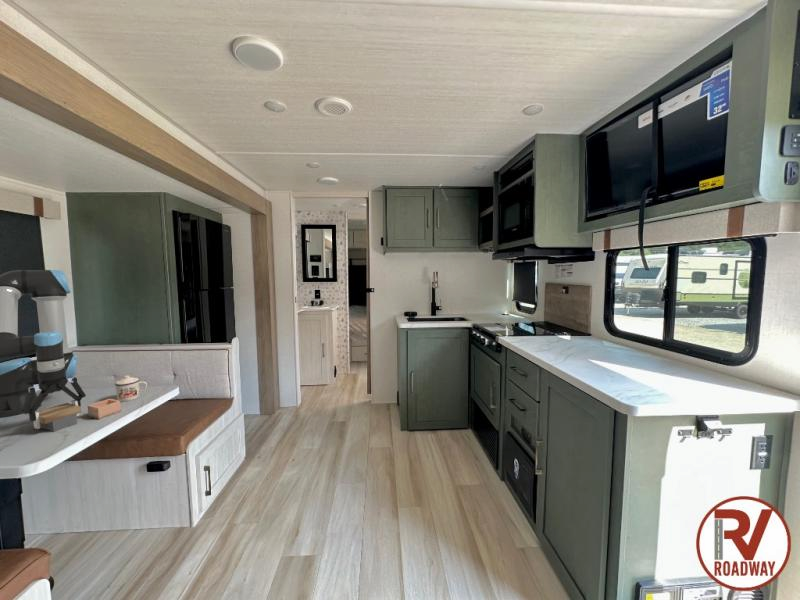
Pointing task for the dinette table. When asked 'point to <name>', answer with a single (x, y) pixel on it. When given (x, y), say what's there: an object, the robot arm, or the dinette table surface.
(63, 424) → the gray rectangular block
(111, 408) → the pink hollow square box
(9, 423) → the dinette table surface
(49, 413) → the lid
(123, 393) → the teacup with lid
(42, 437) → the dinette table surface
